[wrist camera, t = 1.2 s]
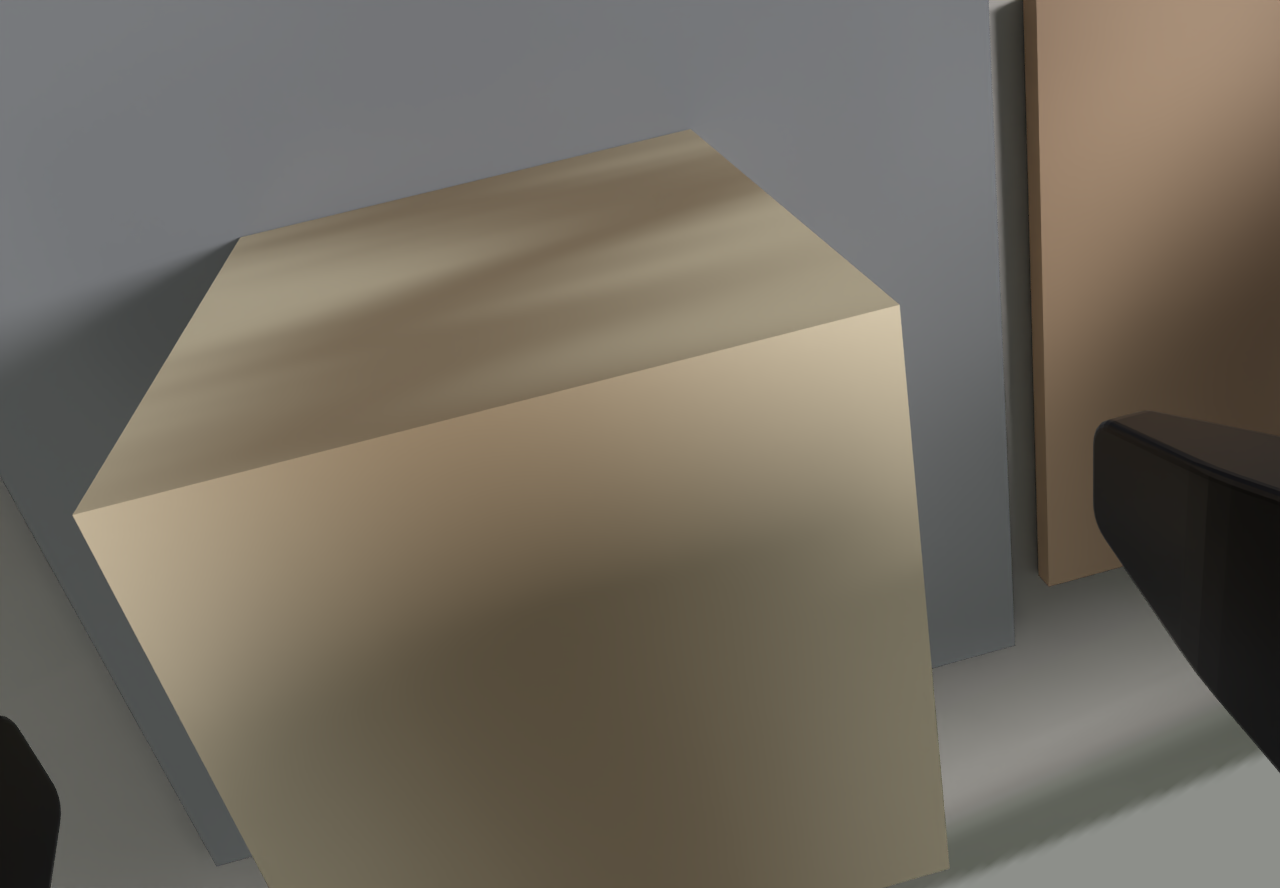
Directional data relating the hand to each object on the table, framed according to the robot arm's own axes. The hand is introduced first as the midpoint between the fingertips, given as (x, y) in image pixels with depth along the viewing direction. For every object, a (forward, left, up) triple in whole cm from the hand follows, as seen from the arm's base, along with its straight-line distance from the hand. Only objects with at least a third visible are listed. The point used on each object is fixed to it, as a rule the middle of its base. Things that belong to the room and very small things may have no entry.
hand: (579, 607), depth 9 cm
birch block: (0, 0, -5) cm, 5 cm away
